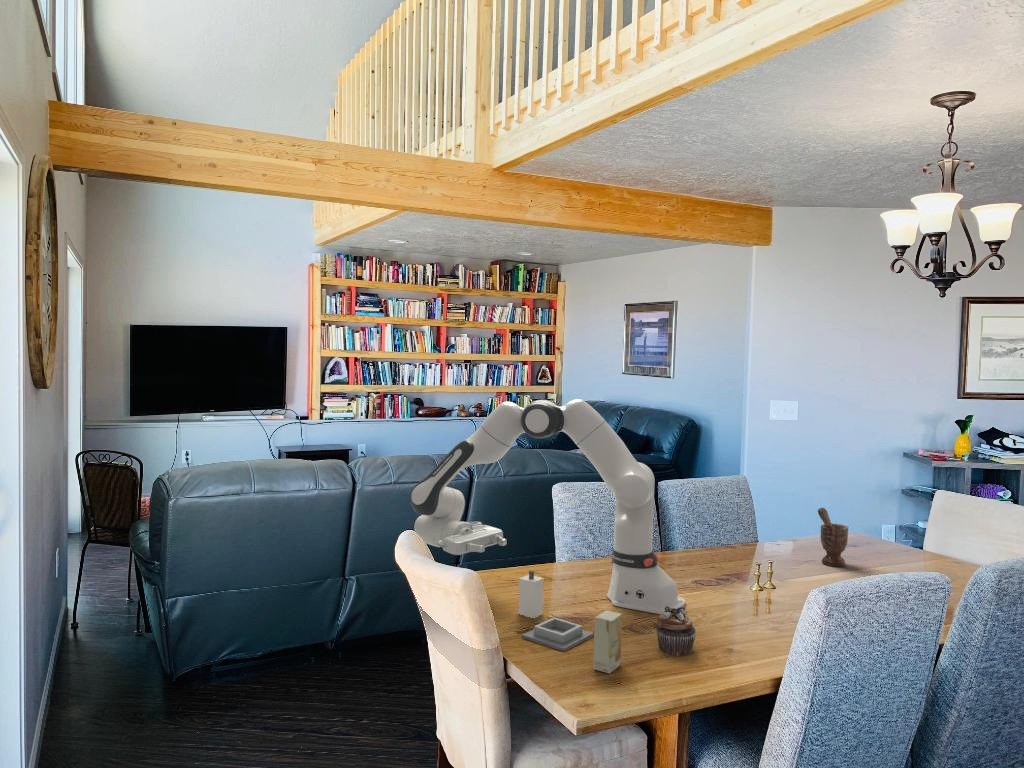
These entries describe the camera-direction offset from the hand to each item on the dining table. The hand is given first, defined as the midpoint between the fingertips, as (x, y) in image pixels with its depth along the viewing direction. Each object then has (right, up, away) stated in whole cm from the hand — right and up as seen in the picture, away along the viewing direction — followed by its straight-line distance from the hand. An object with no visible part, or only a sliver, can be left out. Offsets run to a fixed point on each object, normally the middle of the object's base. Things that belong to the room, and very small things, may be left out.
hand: (494, 545), depth 217 cm
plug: (+10, -17, -7) cm, 21 cm away
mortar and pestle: (+113, -16, +43) cm, 122 cm away
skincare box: (+27, -20, -40) cm, 52 cm away
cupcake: (+45, -19, -29) cm, 57 cm away
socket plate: (+17, -18, -23) cm, 34 cm away
